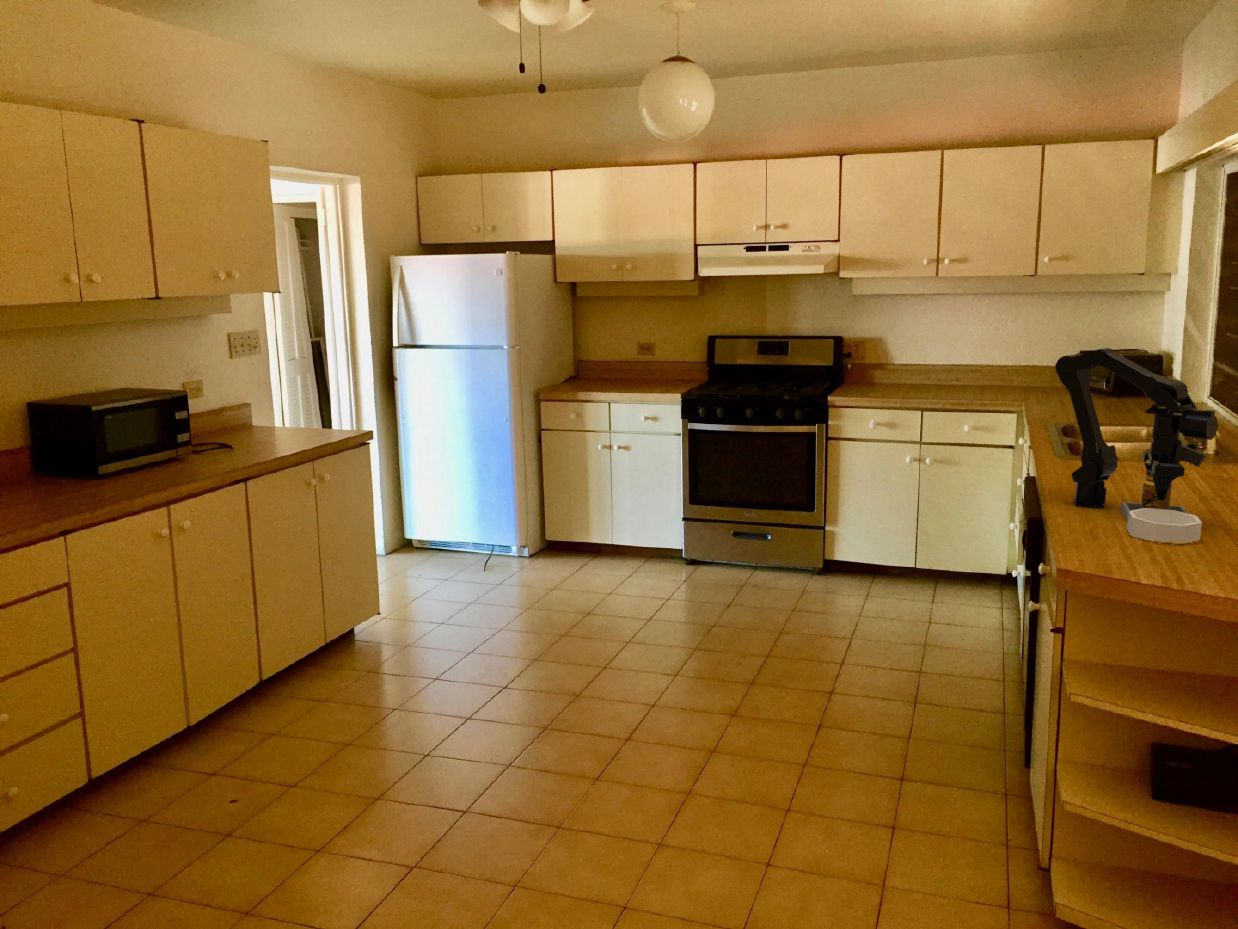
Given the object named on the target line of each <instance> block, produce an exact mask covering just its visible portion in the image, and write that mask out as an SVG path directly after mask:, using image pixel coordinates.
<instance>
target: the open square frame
mask: <svg viewBox="0 0 1238 929" xmlns="http://www.w3.org/2000/svg"><path fill="white" fill-rule="evenodd" d="M1137 509H1141V503H1139V502H1128V501H1121V506H1120V511H1121V512H1122V514H1123V516H1124V518H1125V519H1126V521H1127V522H1128V513H1129V511H1132V510H1137ZM1169 510H1175V511H1179V512H1183V513H1187V514H1190V513H1189V512H1188V511H1187V510H1186V508H1185V507H1184V506H1183V505H1172V504H1170V505H1169Z"/></svg>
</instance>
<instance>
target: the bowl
mask: <svg viewBox="0 0 1238 929" xmlns="http://www.w3.org/2000/svg"><path fill="white" fill-rule="evenodd" d="M1126 524H1127V525H1126V531H1127V530H1128V531H1127V533H1128V532H1129V533H1128V535H1129V536H1130V535H1131V536H1134V537H1133V538H1135V537H1137V538H1136V539H1138V538H1141V539H1140V540H1142V539H1144V540H1143V541H1145V540H1151V541H1160V542H1173V543H1187V542H1192V541H1197V540H1200V541H1201V534H1202V527H1203V522H1202V520H1201V519H1200V518H1199V517H1198V516H1197V515H1195V514H1190V513H1189V514H1187V513H1183V512H1179V511H1175V510H1167V509H1153V508H1143V509H1137V510H1132V511H1129V513H1128V521H1127V522H1126ZM1131 536H1130V537H1131Z"/></svg>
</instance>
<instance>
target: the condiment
mask: <svg viewBox="0 0 1238 929" xmlns="http://www.w3.org/2000/svg"><path fill="white" fill-rule="evenodd" d="M1151 472H1152V469H1150V470H1147V471H1146V474H1145V480H1144V481H1143V483H1142V484H1143V485H1142V494H1141V509H1143V508H1153V509H1167V510H1169V505H1171V504H1170V502H1171V494H1172V486H1173V485H1172V483H1171V484H1170V487H1169V489H1168V491H1167V494H1166V496H1165V499H1164V500H1159V499H1158V496H1157V493H1156V489H1155V486H1154V482H1153V479H1152V475H1151Z"/></svg>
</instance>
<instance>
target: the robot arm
mask: <svg viewBox="0 0 1238 929" xmlns="http://www.w3.org/2000/svg"><path fill="white" fill-rule="evenodd" d="M1054 365H1055V366H1054V368H1055V372H1056V375H1057V377H1058V378H1059V381H1060V383H1061V384H1062V385H1063V386H1064V387H1065V389H1066V390H1067V391H1068V393H1069V397H1070V400H1071V403H1072V408H1073V411H1074V412H1073V413H1074V416H1075V419H1076V423H1077V427H1078V431H1079V433H1080V438H1081V441H1082V449H1081V454H1080V462H1081V466H1080V467H1079V468H1077V469H1076V470H1074V471H1073V472H1071V479H1072V482H1074V483H1075V490H1074V491H1075V493H1074V497H1073V503H1074V505H1075V506H1077V507H1087V508H1089V507H1090V508H1104V505H1105V504H1106V498H1107V496H1106V495H1107V487H1106V486H1105V481H1108V480H1110V479H1109V478H1110V477H1111V475H1113V474H1115V471H1116V470H1117V469H1118V465H1119V464H1118V461H1120V459H1119V457H1118V456H1117V452H1116V450H1117V449H1116V446H1115V445H1113V444H1112V445H1108V444H1107V443H1106V441H1105V440H1104V437H1103V436H1104V435H1103V434H1102V431H1101V430H1102V429H1101V426H1100V423H1099V420H1098V419H1099V418H1098V415H1097V411H1096V407H1095V404H1094V401H1093V396H1092V394H1091V389H1090V383H1091V379H1092V369H1095V368H1099V367H1103V368H1104V369H1107V370H1108V371H1110V372H1111V373H1114V374H1115V375H1117V376H1118V377H1120V378H1122V379H1124V380H1126V381H1127V382H1129V383H1131V384H1132V385H1134V386H1136V387H1138V388H1139V389H1140V390H1142V392H1143V393H1144V394H1145V396H1146V397H1147V398H1148V399H1149V400H1151V402H1153V404H1152V405H1151V406H1150V407H1149V408H1147V409H1145V411H1144V413H1145V414H1149V415H1150V414H1151V415H1154V416H1153V423H1152V424H1153V425H1152V434H1151V435H1150V436H1149V441H1150V443H1151V444H1150V449H1149V448H1147V449H1145V450H1144V451H1143V452H1142V454H1141V455H1142V456H1141V460H1142V461H1143V462H1144V463H1143V465H1144V468H1145V471H1146V472H1147V470H1150V469H1152V472H1151V475H1152V479H1153V482H1154V486H1155V489H1156V493H1157V496H1158V499H1159V500H1164V499H1165V496H1166V494H1167V491H1168V489H1169V487H1170V484H1172V482H1173V481H1174V480H1176V479H1177V478H1180V477H1185V467H1184V466H1183V465H1182V464H1181V463H1180V462H1181V461H1184V462H1187V463H1189V464H1192V465H1193V466H1195V467H1196V468H1197V467H1200V466H1201V464H1203V463H1202V462H1203V461H1204V459H1205V457H1206V454H1205V453H1204V452H1202V451H1200V450H1197V449H1198V446H1197V445H1196V444H1195V443H1193V442H1187V443H1186V444H1183V441H1182V440H1181V439H1180V434H1181V435H1182V436H1184V437H1186V438H1191V439H1192V438H1193V439H1201V440H1208V441H1212V440H1213V439H1214V438H1215V437H1216V435H1217V432H1218V430H1219V423H1218V419H1217V416H1216V411H1215V410H1212V409H1199V408H1198V407H1197V406H1196V405H1195V403H1194V401H1193V399H1192V398H1191V397H1190V394H1189V390H1188V386H1187V384H1185V382H1183V381H1181V380H1177V379H1176V378H1175V379H1174V378H1172V377H1168V376H1166V375H1165V376H1164V375H1159V374H1156V373H1153V372H1151V371H1150V370H1148V369H1147V368H1144V367H1143V366H1141V365H1140V364H1138V363H1135V362H1134V361H1132V360H1130V359H1128V358H1127V357H1125V356H1123V355H1121V354H1119V353H1117V352H1116V351H1114V350H1113V349H1112V348H1110V347H1105V348H1098V349H1096V350H1094V351H1091V352H1087V353H1082V354H1081V353H1078V354H1069V355H1063V356H1061V357H1059V358H1058V360H1057V361H1056V363H1055V364H1054Z"/></svg>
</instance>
